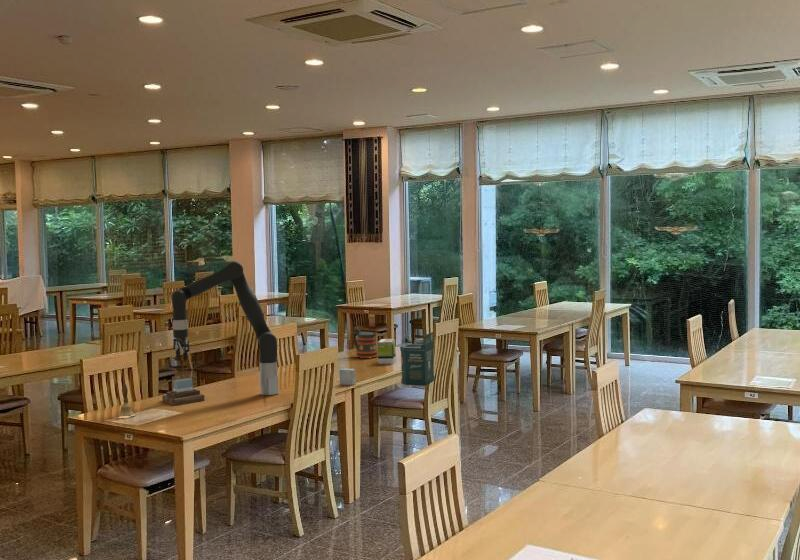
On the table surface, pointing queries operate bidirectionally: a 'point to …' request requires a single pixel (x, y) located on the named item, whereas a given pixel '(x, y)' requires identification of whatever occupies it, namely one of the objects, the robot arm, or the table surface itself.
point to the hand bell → (125, 403)
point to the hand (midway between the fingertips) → (181, 359)
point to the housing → (182, 386)
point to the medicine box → (347, 377)
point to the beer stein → (365, 344)
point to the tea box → (386, 351)
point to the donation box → (418, 362)
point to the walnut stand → (183, 397)
